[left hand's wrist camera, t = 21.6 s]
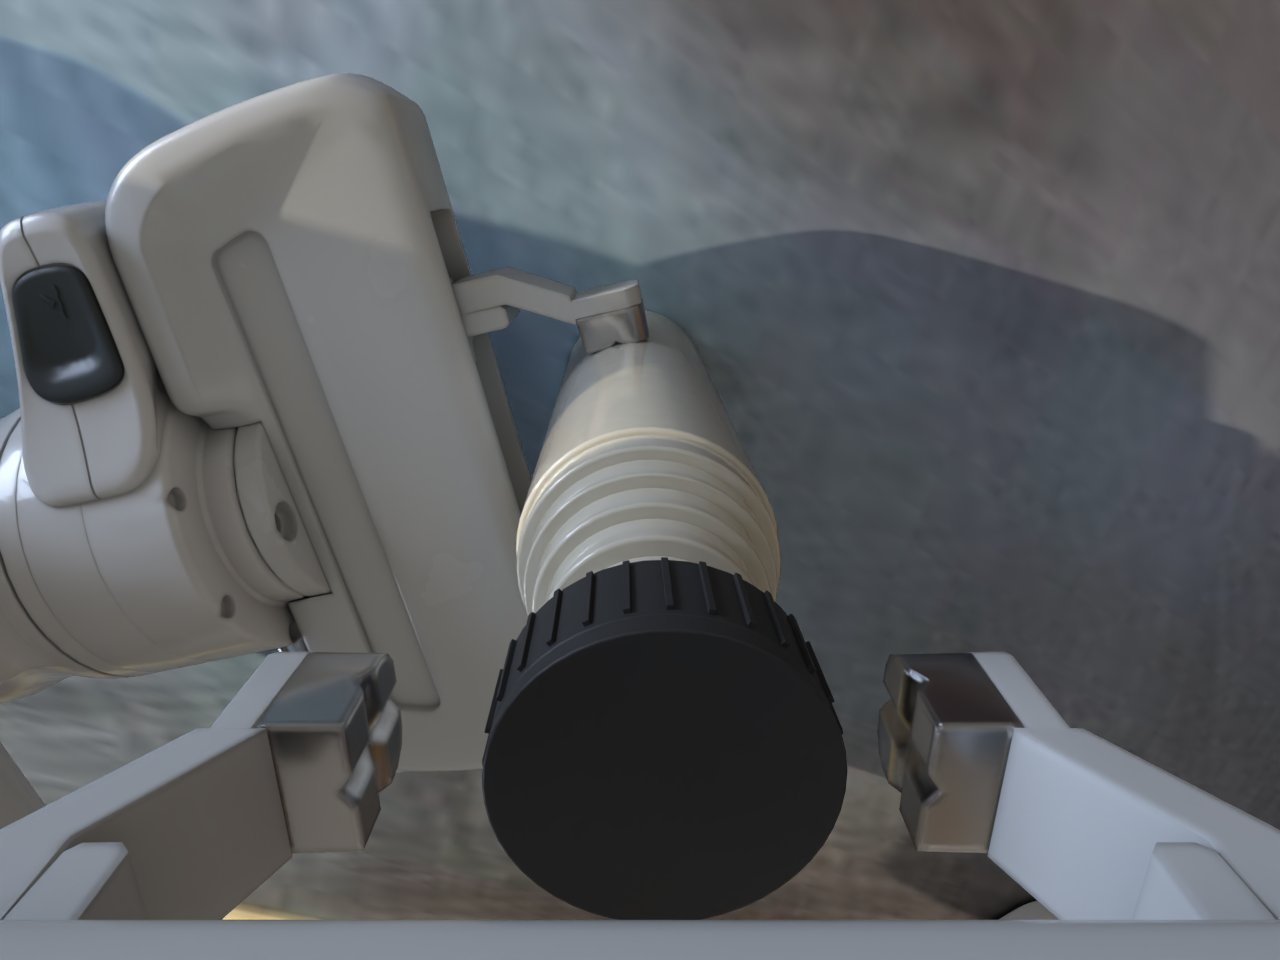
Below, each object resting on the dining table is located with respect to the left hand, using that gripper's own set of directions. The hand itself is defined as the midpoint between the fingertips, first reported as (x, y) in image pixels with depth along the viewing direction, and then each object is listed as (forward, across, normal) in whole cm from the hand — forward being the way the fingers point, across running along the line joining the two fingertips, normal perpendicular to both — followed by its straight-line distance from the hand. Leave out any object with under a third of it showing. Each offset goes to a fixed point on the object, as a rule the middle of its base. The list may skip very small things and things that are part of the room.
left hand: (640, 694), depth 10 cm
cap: (-2, 0, 0) cm, 2 cm away
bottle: (+18, 0, 0) cm, 18 cm away
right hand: (+13, -1, 0) cm, 13 cm away
